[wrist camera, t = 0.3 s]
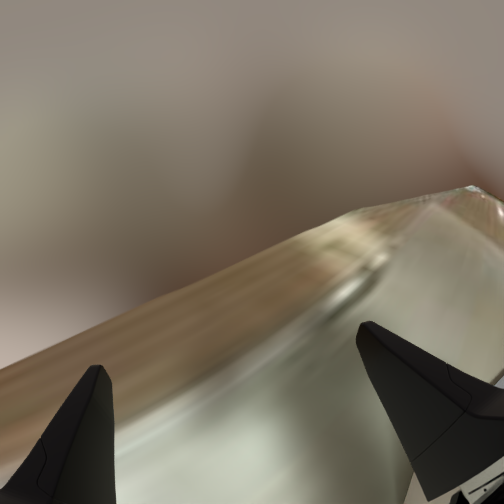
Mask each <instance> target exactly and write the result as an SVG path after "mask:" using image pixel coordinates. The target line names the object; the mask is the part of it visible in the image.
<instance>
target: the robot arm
mask: <svg viewBox="0 0 504 504" xmlns="http://www.w3.org/2000/svg"><path fill="white" fill-rule="evenodd" d="M356 345H357V348H358V350H359V353H360V355H361V358H362V361H363V363H364V366H365V369H366V371H367V374H368V376H369V378H370V381H371V383H372V385H373V387H374V389H375V390H376V392H377V394H378V396H379V398H380V400H381V402H382V404H383V406H384V408H385V410H386V412H387V415H388V417H389V419H390V421H391V423H392V425H393V427H394V429H395V431H396V433H397V435H398V437H399V439H400V441H401V444H402V446H403V448H404V450H405V452H406V454H407V456H408V459H409V461H410V462H411V466H412V468H413V470H414V472H415V474H416V477H417V479H418V481H419V483H420V486H421V488H422V490H423V493H424V495H425V497H426V499H427V501H428V502H430V501H432V500H434V499H436V498H438V497H440V496H442V495H443V494H445V493H447V492H449V491H451V490H453V489H455V488H456V487H458V486H459V487H460V490H458V491H457V492H456V493H454V494H453V495H452V496H451V500H450V503H449V504H504V389H502V388H498V387H496V386H493V385H491V384H489V383H486V382H484V381H482V380H479V379H477V378H475V377H473V376H471V375H468V374H466V373H464V372H462V371H460V370H459V369H457V368H455V367H453V366H451V365H449V364H448V363H447V364H446V362H444V361H442V360H440V359H439V358H437V357H435V356H433V355H431V354H430V353H428V352H426V351H424V350H423V349H421V348H419V347H417V346H415V345H414V344H412V343H410V342H408V341H407V340H405V339H403V338H401V337H399V336H398V335H396V334H394V333H392V332H391V331H389V330H387V329H385V328H383V327H382V326H380V325H378V324H376V323H375V322H373V321H367V322H363V323H361V324H360V326H359V329H358V333H357V336H356ZM0 504H116V491H115V468H114V409H113V393H112V382H111V379H110V377H109V375H108V374H107V372H106V370H105V369H104V367H103V366H102V365H91V366H90V367H89V368H88V369H87V371H86V372H85V373H84V375H83V376H82V378H81V379H80V380H79V382H78V383H77V384H76V386H75V387H74V389H73V390H72V391H71V393H70V394H69V396H68V397H67V398H66V400H65V401H64V403H63V404H62V406H61V407H60V409H59V410H58V411H57V413H56V414H55V416H54V417H53V419H52V420H51V422H50V423H49V425H48V426H47V428H46V429H45V431H44V432H43V434H42V435H41V438H39V440H38V441H37V443H36V444H35V446H34V447H33V449H32V450H31V452H30V453H29V455H28V456H27V458H26V459H25V460H24V462H23V463H22V464H21V466H20V467H19V468H18V469H17V471H16V472H15V473H14V474H13V476H12V477H11V478H10V480H9V481H8V482H7V483H6V485H5V486H4V487H3V488H2V489H0Z"/></svg>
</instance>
